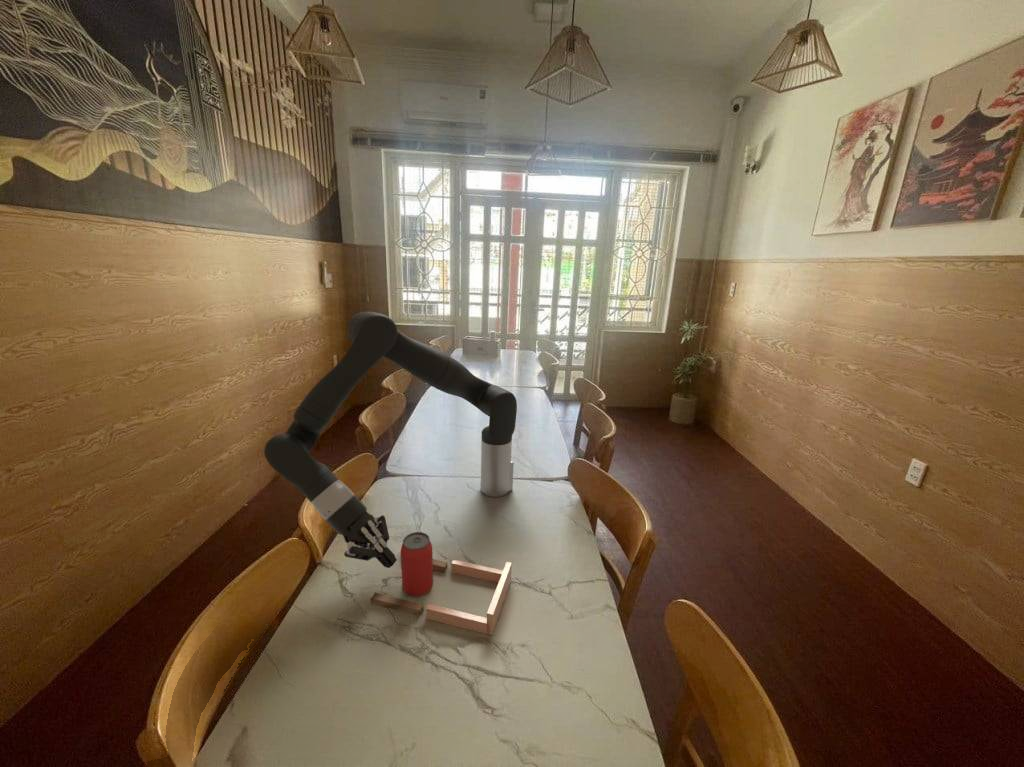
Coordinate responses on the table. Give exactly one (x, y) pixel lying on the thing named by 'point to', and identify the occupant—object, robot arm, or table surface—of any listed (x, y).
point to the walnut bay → (401, 603)
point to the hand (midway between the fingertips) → (392, 564)
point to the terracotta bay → (494, 609)
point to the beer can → (417, 564)
